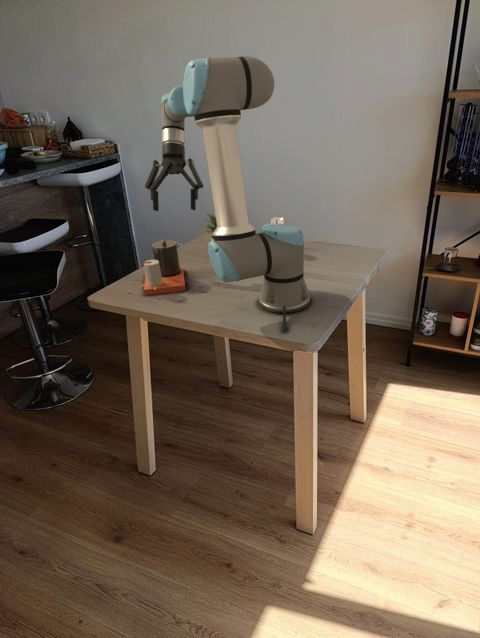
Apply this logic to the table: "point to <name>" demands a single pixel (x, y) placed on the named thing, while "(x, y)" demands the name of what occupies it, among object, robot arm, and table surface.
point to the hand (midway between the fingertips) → (174, 210)
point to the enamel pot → (166, 256)
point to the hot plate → (167, 285)
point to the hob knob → (153, 273)
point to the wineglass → (277, 220)
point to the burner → (174, 274)
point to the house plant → (211, 225)
